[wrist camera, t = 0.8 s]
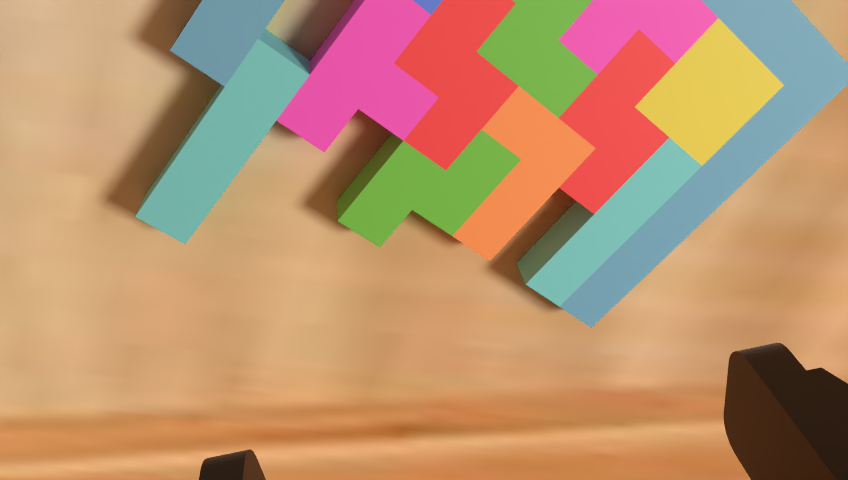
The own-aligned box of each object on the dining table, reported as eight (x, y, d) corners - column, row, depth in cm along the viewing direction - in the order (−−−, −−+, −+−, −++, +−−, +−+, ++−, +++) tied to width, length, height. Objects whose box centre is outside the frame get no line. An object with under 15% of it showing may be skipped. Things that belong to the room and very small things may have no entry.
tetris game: (437, -366, 28) (96, 163, 38) (448, -383, 26) (81, 187, 35) (824, 58, 40) (490, 385, 49) (857, 74, 37) (499, 414, 47)
